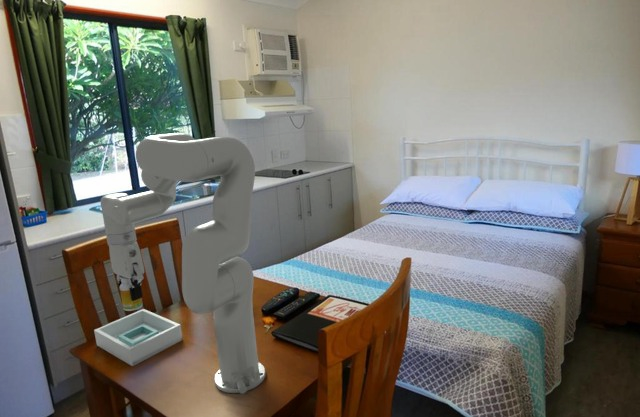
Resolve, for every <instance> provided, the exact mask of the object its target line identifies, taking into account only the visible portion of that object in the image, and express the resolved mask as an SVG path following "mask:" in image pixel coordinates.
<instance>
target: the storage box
mask: <svg viewBox="0 0 640 417" xmlns="http://www.w3.org/2000/svg"><path fill="white" fill-rule="evenodd" d="M181 326H182V324H180V323H178V322H176V321H173V320H170V319H168V318H166V317H164V316H161V315H159V314H157V313H154V312H151V311H150V310H147V309H145V308H142V309H140V310H138V311H134V312H133V313H131V314H128V315H126V316H124V317H121V318H119V319H116V320H114V321H112V322H109V323H107V324H105V325H103V326H101V327H98V328H95V329H94V330H93V331H94V332H93V333H94V337H95V342H96V346H97V347H99V348H101V349H103V350H105V351H106V352H107V353H109V354H111V355H112V356H114V357H116V358H118V359H119V360H121V361H123V362H125V363H126V364H127V365H129V366H130V367H134V366H136V365H138V364H139V363H142V362H144V361H145V360H147V359H149V358H151V357H153V356H155V355H157V354H159V353H160V352H162V351H164V350H167V349H168V348H171V347H172V346H174V345H176V344H178V343H180V342H182V341H183V340H184V339H183V332H182V327H181Z"/></svg>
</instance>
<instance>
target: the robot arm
mask: <svg viewBox="0 0 640 417" xmlns="http://www.w3.org/2000/svg"><path fill="white" fill-rule="evenodd" d="M138 143H139V144H138V145H137V147H136V149H135V160H136V163H137V165H138V167H139V168H140V170H141V181H142V182H143V184H144V185H145V186H146V187H147V189H149V190H148V191H144V192H139V193H136V194H131V195H129V194H128V193H125V192H116V193H114V192H113V193H110V194H105V195H103V196H102V197H101V198H100V207H101V213H102V219H103V224H104V230H105V237H106V242H107V246H108V247H109V248H108V250H109V260H110V265H111V270H112V272H113V273H114V276H115V277H116V282H117V284H118V285H117V286H118V291H119V296H120V297H121V293H120V285H121V284H122V282H121V276H123V277H125V278H128V281H129V284H130V287H131V288H129V289H130V295H131V300H132V301H135V300H138V299H140V298H142V299H143V290H142V289H143V288H142V283H143V280H144V273H145V266H144V262H143V257H142V253H141V250H140V247H139V243H138V241H137V240H138V239H137V232H136V228H135V224H137V223H142V222H144V221H149V220H152V219H154V218H157V217H160V216H162V215H163V214H164V213H166V212H167V210H168V209H169V208H170V207H171V206H172V205H173V203H175V200H176V196H177V188H176V186H177V184H178V183H179V182H182V183H194V182H199V181H203V180H207V179H212V178H215V177H221V178H220V181H219V183H218V184H217V187H216V189H215V191H214V194H213V198H212V199H213V200H212V214H211V218H210V220H209V221H208V222H206V223H203V224H200V225H197V226H195V227H193V228H192V229H191V230H189V231H188V232H187V233H186V235H185V237H184V239H183V242H182V246H181V289H182V290H181V291H182V296H183V300H184V303H185V304H186V306H187V307H188V309H189V310H190V311H191V312H193V313H194V314H198V315H206V314H209V313H212V312H213V316H212V317H213V326H214V334H215V342H216V350H217V356H218V365H219V370H218V371H216V373H215V375H214V385H215V386H216V388H217V389H218V390H220V391H222V392H224V393H227V394H228V393H229V394H238V393H239V394H246V393H247V392H248V391H250V390H253V389H255V388H256V387H258V386H260V384H261V383H262V382H263V381H264V380H265V378H266V368H265V366H264V365H263V364H262V363H261V362H259V359H258V358H259V357H258V347H257V340H256V330H255V329H256V328H255V320H254V309H253V308H254V307H253V306H254V304H253V291H254V284H255V283H254V280H255V278H254V271H253V268H252V266H251V264H250V263H249V262H248V261H247V260H246V259H245V258H244V257H240V255H241V254H243V253H245V251H246V250H248V247H249V243H250V238H251V237H250V235H251V234H250V233H251V218H252V199H253V192H254V185H255V180H256V178H255V177H256V166H255V161H254V158H253V155H252V153H251V152H250V149H249V148H248V147H247V145H246V144H245V143H244V142H242V141H241V140H239V139H238V138H235V137H232V136H215V137H214V136H213V137H207V138H202V139H195V138H194V137H192V136H191V135H189V134H187V133H184V132H183V133H181V132H175V133H165V134H164V133H163V134H155V135H149V136H146V137H144V138H143V139H141V140H140V142H138ZM132 274H135V276H132ZM133 278H136V280H134V282H133V281H132V279H133Z"/></svg>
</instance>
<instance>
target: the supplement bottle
mask: <svg viewBox="0 0 640 417" xmlns="http://www.w3.org/2000/svg"><path fill="white" fill-rule="evenodd" d="M132 276H135V273H134V274H132ZM134 280H136V278H133V279H132V281H133V282H134ZM121 282H122V284H121V285H120V292H119V294H120V293H121V296H120V298H121V305H122V309H123V310H124V311H127V312H131V311H136V310H139V309H140V308H142V307H143V297H142V298H140V299H138V300H135V301H132V300H131V295H130V289H129V288H131V287H130V284H129V281H128V278H125V277H123V276H121Z"/></svg>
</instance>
